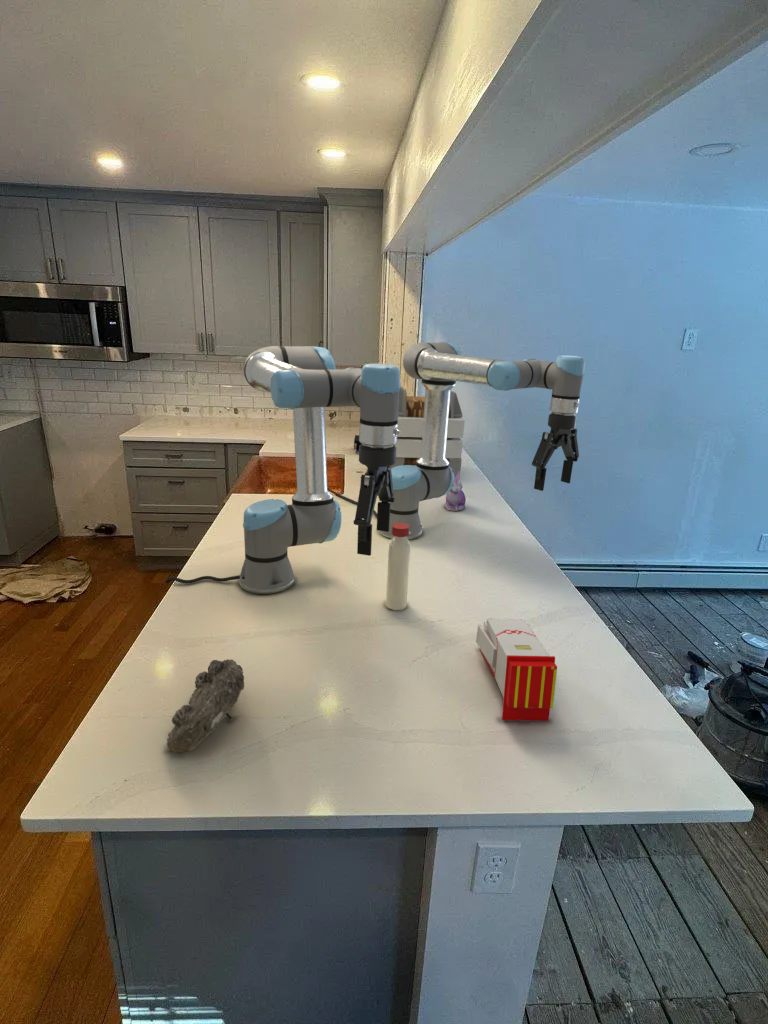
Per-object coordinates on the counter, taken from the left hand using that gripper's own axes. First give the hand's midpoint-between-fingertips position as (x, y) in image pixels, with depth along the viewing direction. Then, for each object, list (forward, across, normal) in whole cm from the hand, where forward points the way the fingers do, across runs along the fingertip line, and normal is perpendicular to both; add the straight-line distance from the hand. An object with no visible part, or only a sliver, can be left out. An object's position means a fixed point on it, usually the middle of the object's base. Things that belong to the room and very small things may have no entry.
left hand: (374, 541), depth 121 cm
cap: (+6, +24, 0) cm, 25 cm away
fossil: (+28, -30, +22) cm, 47 cm away
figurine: (+28, +109, -2) cm, 113 cm away
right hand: (0, +59, -36) cm, 70 cm away
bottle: (+28, +24, 0) cm, 37 cm away
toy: (+28, +1, -32) cm, 42 cm away
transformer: (+29, +153, +22) cm, 157 cm away
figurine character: (+29, +183, +63) cm, 196 cm away
